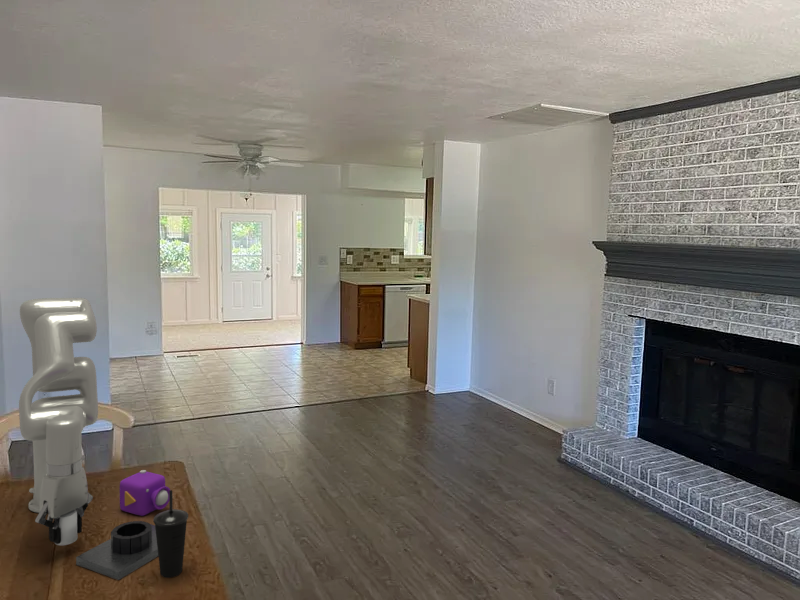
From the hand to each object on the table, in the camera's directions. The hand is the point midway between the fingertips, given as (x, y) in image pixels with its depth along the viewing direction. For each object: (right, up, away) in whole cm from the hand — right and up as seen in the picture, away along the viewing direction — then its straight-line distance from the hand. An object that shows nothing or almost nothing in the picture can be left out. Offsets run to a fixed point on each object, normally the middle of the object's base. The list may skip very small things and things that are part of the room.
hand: (65, 536), depth 148 cm
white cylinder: (0, -1, 0) cm, 1 cm away
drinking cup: (+28, -6, -6) cm, 30 cm away
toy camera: (+10, -2, +25) cm, 27 cm away
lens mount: (+16, -5, +2) cm, 16 cm away
